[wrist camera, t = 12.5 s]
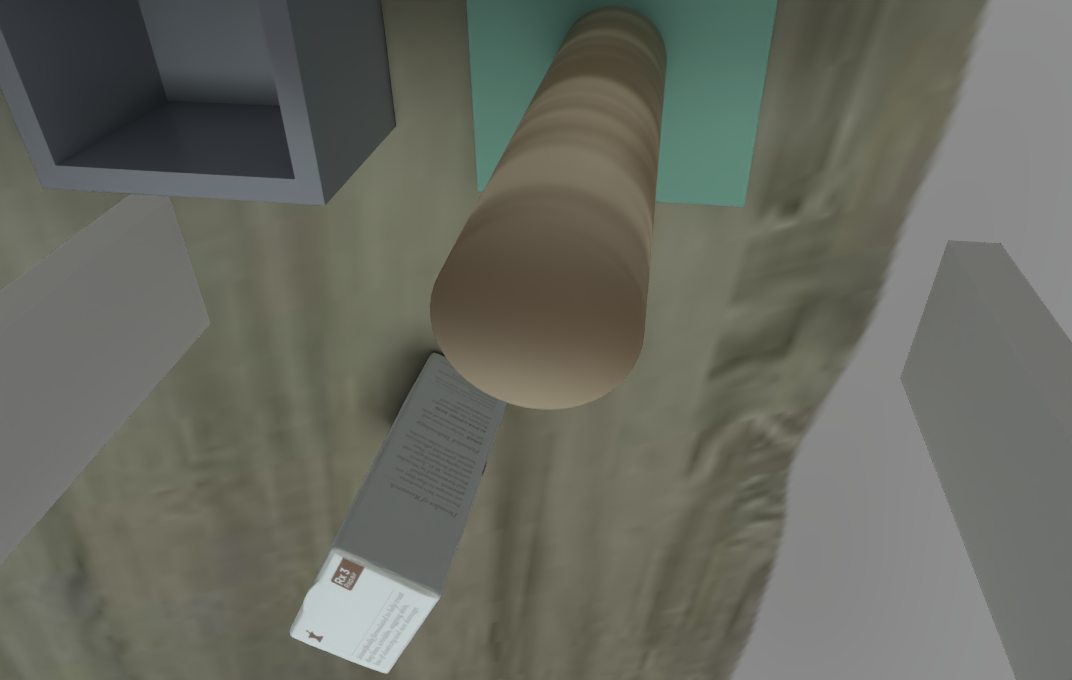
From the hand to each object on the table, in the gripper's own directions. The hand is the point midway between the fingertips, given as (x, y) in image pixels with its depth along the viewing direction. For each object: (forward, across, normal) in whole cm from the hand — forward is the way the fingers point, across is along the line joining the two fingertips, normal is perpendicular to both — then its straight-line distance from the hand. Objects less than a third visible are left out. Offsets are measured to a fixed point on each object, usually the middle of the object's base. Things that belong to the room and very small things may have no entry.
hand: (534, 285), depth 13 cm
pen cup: (+16, -12, +2) cm, 20 cm away
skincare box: (+16, -7, -17) cm, 24 cm away
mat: (+16, 0, 0) cm, 16 cm away
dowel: (+15, 0, 0) cm, 15 cm away
